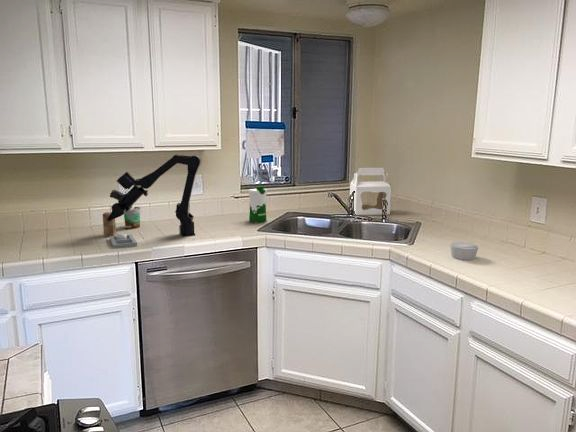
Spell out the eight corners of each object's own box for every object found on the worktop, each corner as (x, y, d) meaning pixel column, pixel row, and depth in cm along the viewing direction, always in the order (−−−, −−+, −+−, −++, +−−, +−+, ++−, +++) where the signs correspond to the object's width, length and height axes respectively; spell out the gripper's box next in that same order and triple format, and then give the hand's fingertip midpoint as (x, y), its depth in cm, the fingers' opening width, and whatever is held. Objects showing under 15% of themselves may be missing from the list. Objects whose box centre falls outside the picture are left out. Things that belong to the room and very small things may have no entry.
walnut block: (115, 234, 241) (114, 212, 239) (113, 236, 237) (112, 214, 234) (106, 234, 241) (105, 212, 238) (104, 236, 236) (102, 214, 234)
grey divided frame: (131, 237, 234) (131, 231, 234) (137, 246, 219) (136, 239, 218) (109, 239, 230) (109, 233, 230) (113, 248, 215) (113, 241, 214)
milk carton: (256, 223, 269) (256, 187, 265) (246, 220, 275) (246, 185, 272) (268, 221, 275) (268, 186, 271) (258, 218, 281) (258, 184, 277)
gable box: (382, 210, 311) (384, 166, 306) (390, 214, 298) (392, 168, 293) (348, 211, 307) (350, 166, 302) (355, 215, 295) (356, 168, 289)
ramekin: (471, 262, 197) (472, 250, 196) (444, 257, 205) (445, 245, 204) (481, 257, 206) (482, 245, 205) (455, 252, 213) (456, 240, 212)
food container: (135, 230, 250) (134, 210, 248) (124, 229, 251) (122, 210, 250) (146, 225, 262) (145, 206, 260) (136, 224, 263) (135, 206, 261)
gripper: (124, 181, 243) (103, 203, 245) (114, 186, 225) (91, 210, 226) (141, 197, 246) (120, 219, 247) (133, 203, 227) (110, 227, 228)
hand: (110, 218), depth 237 cm, fingers open, 9 cm apart
